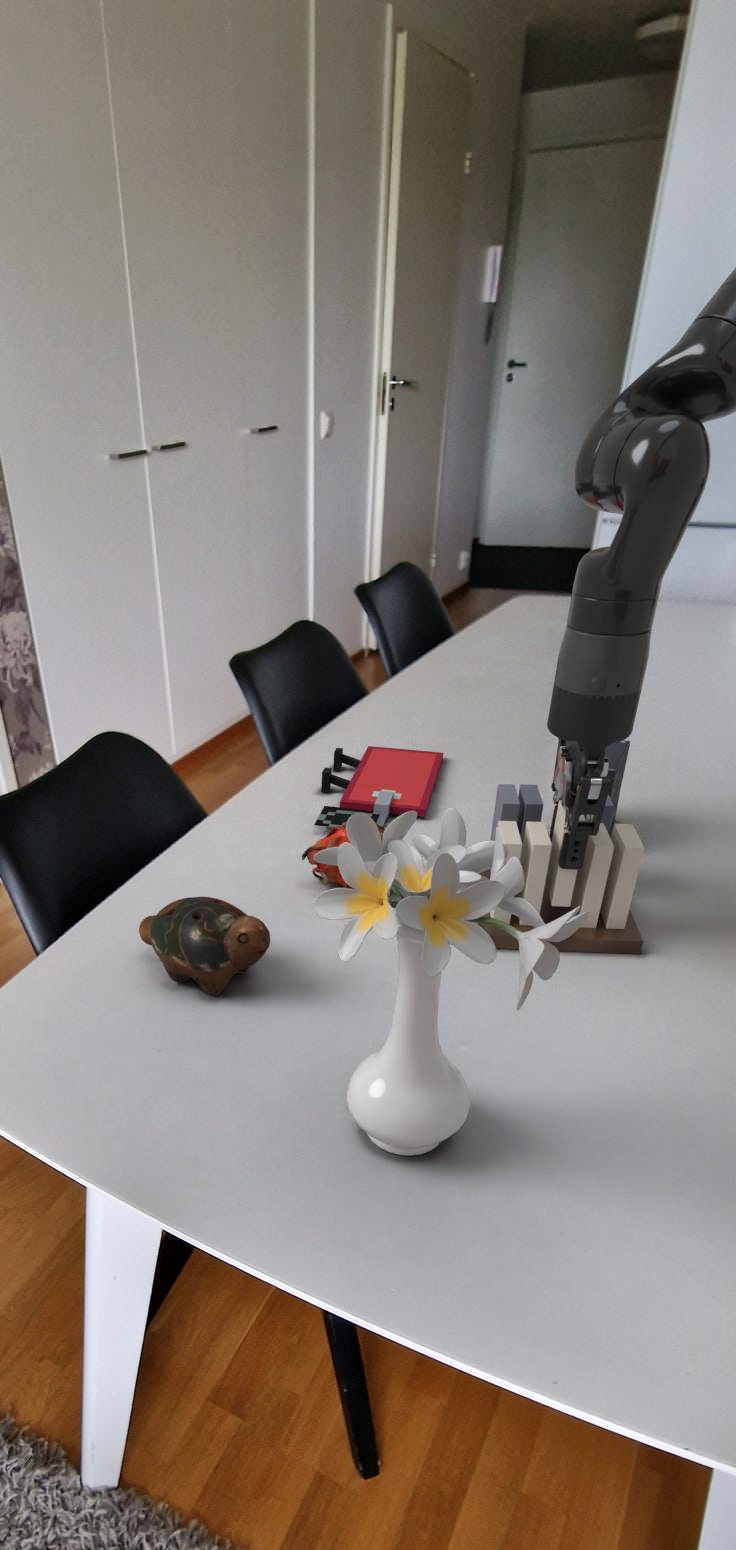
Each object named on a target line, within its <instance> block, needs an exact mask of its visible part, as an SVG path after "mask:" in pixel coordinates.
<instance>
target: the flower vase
mask: <svg viewBox="0 0 736 1550" xmlns="http://www.w3.org/2000/svg"><path fill="white" fill-rule="evenodd" d="M441 817H442V818H441V822H440V830H439V831H440V832H439V833H440V834H439V842H437V841H436V840H435V839H434V838H433V837H431V836H429V835H426V834H422V833H421V834H420V833H419V834H415V835H414V836H413V837H412V844H413V845H412V844H411V843H409V842H407V841H405V840H403V839H404V838H405V837H406V835H407V834H408V832H409V831H410V830H411V828H412V827H413V825H414V824H415V822H416V820H417V818H418V816H417V812H416V811H408V812H406V813H404V814H399V815H398V816H396V817H395V818H394V819H393V820H392V821H391V822H390V823H388V825H387V826H386V828H384V829H385V831H384V833H383V839H382V840H381V837H380V833H379V830H378V827H377V826H376V823H375V822H374V821H373V819H372V818H371V817H370V816H368V815H367V814H364V813H356V814H353V815H351V817H349V819H348V821H347V824H346V832H347V836H348V839H349V841H350V843H351V844H350V843H348V842H344V843H342V844H341V845H340V847H332V848H328V849H324V850H322V851H320V852H318V853H317V854H315V855H314V860H315V861H316V862H318V863H322V864H328V865H335V866H338V867H339V870H340V873H341V875H342V878H343V879H344V881H345V882H346V884H348V885H349V886H350V887H352V888H353V889H348V888H344V887H336V888H335V887H334V888H330V889H326V890H324V891H322V892H321V893H320V894H318V895H317V896H316V897H315V899H314V900H313V902H312V910H313V912H314V914H315V915H316V916H318V917H319V918H322V919H325V920H330V921H331V920H332V921H339V920H349V921H347V922H346V923H345V924H344V926H343V928H342V929H341V932H340V935H339V939H338V943H337V953H338V957H339V959H340V961H342V962H345V963H346V962H349V961H350V960H352V959H353V957H355V956H356V954H357V953H358V952H359V950H360V948H361V946H362V944H363V943H364V941H365V939H366V937H367V936H368V934H369V933H370V932H371V931H373V933H374V934H375V935H376V936H378V938H381V939H384V940H391V939H393V938H395V937H396V944H397V953H398V974H397V976H398V977H397V985H396V991H395V992H396V993H395V1001H394V1009H393V1017H392V1021H391V1025H390V1030H389V1033H388V1035H387V1038H386V1039H385V1042H384V1043H383V1045H382V1046H381V1047H380V1048H379V1049H378V1050H376V1051H374V1052H373V1053H371V1054H369V1055H368V1056H367V1057H365V1059H363V1060H362V1061H361V1062H360V1063H359V1064H358V1065H357V1066H356V1067H355V1068H354V1071H353V1073H352V1074H351V1077H350V1079H349V1081H348V1083H347V1087H346V1098H345V1099H346V1101H345V1102H346V1105H347V1108H348V1112H349V1113H350V1116H351V1117H352V1119H353V1120H354V1121H355V1123H356V1124H357V1125H358V1127H359V1128H360V1129H361V1130H362V1131H363V1132H365V1133H366V1135H367V1136H368V1138H369V1139H370V1141H371V1142H372V1143H373V1144H375V1145H376V1146H377V1147H379V1148H380V1149H382V1150H384V1151H386V1152H388V1153H391V1154H395V1155H398V1156H409V1157H410V1156H418V1155H423V1154H427V1153H429V1152H431V1151H432V1150H435V1148H437V1147H438V1146H439V1145H440V1144H441V1143H443V1142H444V1141H445V1140H447V1139H449V1138H450V1137H452V1136H453V1135H454V1134H456V1133H457V1132H458V1131H459V1130H460V1128H462V1126H463V1125H464V1124H465V1122H466V1120H467V1118H468V1115H469V1113H470V1108H471V1099H470V1090H469V1086H468V1083H467V1081H466V1079H465V1077H464V1075H463V1073H462V1072H461V1070H460V1069H459V1068H458V1067H457V1066H456V1065H455V1064H454V1062H453V1061H452V1060H451V1059H449V1058H448V1057H447V1056H446V1055H444V1052H443V1049H442V1047H441V1042H440V1038H439V1012H440V1011H439V1010H440V1009H439V1008H440V996H441V985H442V975H443V972H444V970H445V969H446V968H447V966H448V964H449V961H450V959H451V956H452V947H454V948H455V949H457V950H458V951H459V952H461V954H463V955H464V956H465V957H467V958H469V959H470V960H472V961H474V962H476V963H479V964H481V965H482V964H483V965H490V964H493V963H494V961H495V960H496V959H497V956H498V951H497V948H496V947H495V945H494V942H493V940H492V939H491V937H490V936H489V935H488V934H487V932H486V931H484V930H483V929H482V928H481V927H480V926H478V925H477V924H475V923H484V924H489V925H493V926H495V927H498V928H500V929H502V930H504V931H506V932H508V933H509V934H510V935H512V936H513V937H515V938H516V939H518V941H519V949H518V951H519V953H518V954H519V979H518V980H519V982H518V993H517V1001H516V1011H520V1009H521V1008H522V1006H523V1005H524V1004H525V1002H526V1000H527V998H528V996H529V995H530V991H531V989H532V986H533V983H534V973H535V974H536V976H537V977H538V978H539V979H541V980H542V981H548V980H550V979H551V978H552V977H553V976H554V974H555V973H556V971H557V970H558V968H559V964H560V960H561V955H560V951H558V950H557V948H556V947H555V946H553V945H552V944H550V943H549V942H547V941H550V942H560V941H562V940H565V939H566V938H568V937H569V936H571V935H572V934H573V933H574V932H575V931H577V930H578V929H579V927H581V926H582V924H583V923H584V922H585V921H586V919H587V918H588V917H589V914H590V911H587V912H584V913H582V914H579V915H576V916H574V915H575V914H576V913H577V912H578V910H579V908H580V906H578V907H577V908H575V909H573V910H572V911H570V912H568V913H567V914H565V915H563V916H562V917H560V918H558V919H556V920H554V921H552V922H550V923H548V924H545V923H544V922H543V920H542V918H541V917H540V915H539V914H538V912H537V911H536V910H535V908H534V907H533V906H532V905H531V904H530V903H529V902H528V901H526V900H525V899H523V898H510V897H512V896H514V895H516V894H518V893H519V892H520V891H521V890H522V889H523V887H524V884H525V876H524V872H523V868H522V865H521V864H520V861H519V860H518V858H516V857H515V856H514V857H511V858H510V859H509V861H508V862H507V863H506V861H504V860H505V859H506V858H507V857H508V854H509V850H508V848H507V846H506V845H505V844H503V842H502V838H501V835H500V833H499V830H498V827H496V836H495V841H490V840H484V841H479V842H476V843H473V844H472V845H470V846H468V847H466V844H467V829H466V827H467V826H466V823H465V821H464V818H463V816H462V815H461V813H460V812H459V811H458V809H456V808H454V807H448V808H447V809H445V811H444V812H443V814H442V816H441ZM438 843H439V844H438ZM423 858H424V859H425V860H426V862H425V866H424V859H423ZM491 868H492V872H491V877H490V880H489V879H488V878H486V877H484V876H481V875H480V874H479V873H481V872H483V871H486V870H489V869H491ZM397 871H398V872H397ZM398 873H399V874H398ZM399 888H400V889H401V890H403V891H404V892H406V893H407V894H409V895H410V896H406V897H405V895H404V894H403V893H402V891H401V890H400V889H399ZM354 889H355V890H354ZM391 891H393V892H394V893H395V895H396V896H397V897H398V899H399V901H397V900H393V899H390V897H391V896H390V895H391ZM496 906H497V907H499V908H501V909H502V910H504V911H506V912H509V913H511V914H513V915H515V916H518V917H520V918H521V919H523V920H524V921H526V922H527V923H529V924H530V925H532V926H533V927H535V929H532V930H531V931H528V932H524V933H523V932H521V931H519V930H517V929H515V928H514V927H512V926H510V925H509V924H507V923H505V922H502V921H499V920H497V919H494V918H490V917H483V916H484V915H486V914H487V913H489V912H490V911H492V910H493V909H494V908H495V907H496ZM394 909H395V910H394ZM573 916H574V917H573ZM474 922H475V923H474ZM533 971H534V972H533Z"/></svg>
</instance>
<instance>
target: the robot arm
mask: <svg viewBox="0 0 736 1550" xmlns="http://www.w3.org/2000/svg"><path fill="white" fill-rule="evenodd" d="M735 412H736V267H735V268H734V269H733V270H732V271H731V272H730V274H729V275H728V276H727V278H726V279H725V280H724V281H723V282H722V284H721V285H720V286H719V288H718V289H717V290H716V291H715V293H714V294H713V295H712V297H711V298H710V299H709V300H708V302H707V303H706V305H704V307H703V308H702V310H701V311H700V312H699V313H698V315H697V316H696V317H695V318H694V320H693V322H692V323H691V324H690V326H689V327H688V329H686V331H685V332H684V334H683V335H682V336H681V338H680V339H679V340H678V342H677V343H676V344H675V345H674V346H673V347H672V348H671V349H669V351H667V352H666V353H665V354H663V355H662V356H661V357H660V358H658V359H657V360H656V361H655V362H653V363H652V364H651V365H650V366H649V367H648V368H647V369H646V370H645V371H644V372H642V373H641V374H640V375H639V376H638V377H636V379H635V380H634V381H633V382H631V383H630V385H628V386H627V387H626V388H625V389H624V390H623V391H622V392H621V393H620V394H619V395H618V396H616V398H614V399H613V400H612V401H611V402H610V404H608V405H607V406H606V407H605V409H604V410H603V411H602V412H601V413H600V414H599V415H598V417H597V418H596V420H595V421H594V422H593V423H592V425H591V426H590V427H589V429H588V431H587V432H586V434H585V436H584V438H583V440H582V442H581V444H580V446H579V448H578V450H577V451H578V452H577V454H576V458H575V461H574V465H573V484H574V489H575V492H576V494H577V496H578V498H579V499H580V501H582V502H583V503H584V504H585V506H588V507H589V508H591V509H593V510H596V511H599V512H603V513H609V514H617V515H621V520H620V522H619V525H618V528H617V530H616V532H615V535H614V537H613V539H612V540H611V543H610V545H609V546H602V547H598V548H594V549H592V550H590V551H588V552H587V553H585V554H584V555H583V556H582V558H580V561H579V563H578V564H577V568H576V572H575V576H574V579H573V585H572V591H571V595H570V596H571V597H570V602H569V608H568V615H567V620H566V626H565V630H564V634H563V636H562V637H563V638H562V641H561V644H560V646H559V651H558V657H557V662H556V668H555V673H554V681H553V685H552V686H553V687H552V691H551V698H550V704H549V710H548V716H547V721H546V727H547V729H548V731H549V733H550V734H551V735H553V736H554V737H556V738H557V740H558V741H557V749H556V755H555V762H554V770H553V777H552V782H551V785H550V787H551V791H552V792H554V793H553V795H552V801H553V804H554V807H553V813H552V819H551V825H550V831H549V834H548V835H549V838H550V840H551V841H552V837H553V831H554V826H555V820H556V815H557V809H558V805H557V806H556V804H559V800H561V805H562V806H563V807H564V808H565V809H566V815H565V824H564V826H563V829H564V834H563V839H562V844H561V849H560V855H559V860H558V863H559V866H560V868H561V869H575V870H577V869H580V868H581V867H582V866H583V861H584V856H585V851H586V847H587V842H588V837H589V836H596V835H597V833H598V831H599V826H600V822H601V818H602V815H603V811H604V807H605V804H606V800H607V796H608V793H609V789H610V787H611V778H610V777H606V776H607V774H608V766H609V759H608V758H605V749H606V747H607V746H608V745H610V744H612V743H615V742H620V741H623V740H625V741H626V739H628V738H629V737H630V736H631V735H632V733H633V730H634V725H635V720H636V718H637V717H636V716H637V714H638V713H637V712H638V707H639V703H640V699H641V696H642V695H641V694H642V689H643V684H644V680H645V676H646V671H647V666H648V663H649V659H650V658H649V656H650V648H651V636H652V630H653V629H652V628H653V626H654V620H655V615H656V611H657V608H658V602H659V597H660V593H661V589H662V582H663V580H664V576H665V574H666V573H667V570H668V568H669V566H670V564H671V562H672V560H673V558H674V556H675V555H676V552H677V551H678V549H679V546H680V544H681V542H682V539H683V537H684V535H685V533H686V531H687V529H688V527H689V524H690V522H691V520H692V518H693V516H694V514H695V512H696V510H697V508H698V505H699V503H700V501H701V499H702V496H703V495H704V492H705V488H706V485H707V482H708V479H709V473H710V469H711V457H712V456H711V455H712V454H711V443H710V438H709V434H708V431H707V429H706V427H705V425H704V423H707V422H711V421H716V420H720V419H723V418H725V417H728V416H730V415H732V414H734V413H735ZM581 815H587V817H586V821H579V817H580V816H581Z"/></svg>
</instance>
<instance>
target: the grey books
mask: <svg viewBox="0 0 736 1550" xmlns="http://www.w3.org/2000/svg"><path fill="white" fill-rule="evenodd" d="M493 810H494V811H493V818H492V825H491V831H490V832H491V833H490V839H489V841H495V836H496V827H498V821H516V823H517V827H518V830H519V834H520V838H521V841H522V846H523V840H524V834H525V828H526V822H542V816H543V811H544V801H543V799H542V796H541V793H540V790H539V787H538V785H537V784H523V783H522V784H520V785H519V790H518V792H517V789H516V785H515V784H514V783H498V784H497V788H496V796H495V802H494V809H493ZM613 810H614V805H613V803H612V801H611V799H610V797H609V794H608V796H607V800H606V804H605V807H604V811H603V815H602V818H601V822H600V823H604V825H605V828H606V830H607V832H608V833H609V828H610V823H611V819H612V814H613ZM584 817H585V820H586V817H587V815H584ZM609 834H610V833H609ZM521 853H522V850H521ZM520 859H521V856H520ZM491 869H492V868H491ZM491 869H490V872H491Z"/></svg>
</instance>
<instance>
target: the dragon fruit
mask: <svg viewBox="0 0 736 1550" xmlns="http://www.w3.org/2000/svg"><path fill="white" fill-rule="evenodd" d="M375 823H376V822H375ZM346 824H347V822H344V823H342V826H338V827H330V831H329V832H328V833H327V835H326V836H324V837H323V838H320V839H318V840H317V841H316V842H315V843H314V844H313V845H310V846H309V847H308V848H306V850H304V851H303V853H302V855H301V862H303V861H304V860H305V859H307V860H308V864H309V865H312V866H315V865H316V867H314V868H312V869H311V873H312V875H313V876H314V877H315V878H316V879H318V880H319V882H320V883H322V884H323V885H324V886H325V885H326V884H332V883H334V884H336V885H337V886H340V887H343V888H348V889H353V888H352V887H350V886H349V885H348V884H346V882H345V881H344V879H343V878H342V875H341V873H340V870H339V867H338V866H335V865H328V864H322V863H318V862H316V861H315V860H314V855H315V854H317V853H318V852H320V851H322V850H324V849H328V848H332V847H340V845H341V844H342V843H344V842H348V843H350V841H349V839H348V836H347V832H346ZM376 826H377V827H378V830H379V833H380V837H381V840H382V839H383V833H384V831H385V829H386V828H384V826H383V827H382V826H380V825H379V824H377V823H376ZM350 844H351V843H350ZM397 872H398V871H397ZM317 873H318V874H317ZM398 874H399V873H398ZM354 890H355V889H354Z"/></svg>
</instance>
